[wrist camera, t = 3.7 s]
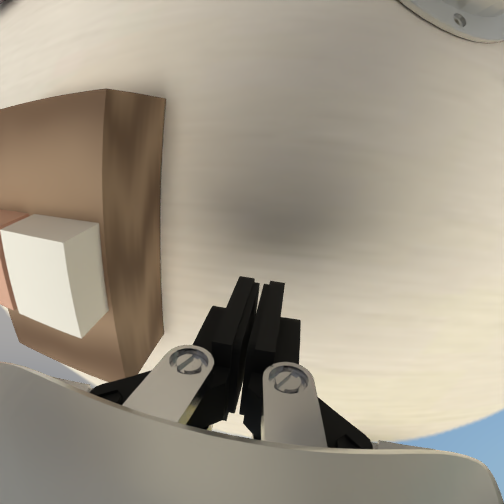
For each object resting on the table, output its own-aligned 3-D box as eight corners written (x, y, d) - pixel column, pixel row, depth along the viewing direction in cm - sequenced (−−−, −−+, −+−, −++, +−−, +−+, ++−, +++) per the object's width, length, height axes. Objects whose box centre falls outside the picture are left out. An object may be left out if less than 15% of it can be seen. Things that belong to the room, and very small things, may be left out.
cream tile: (34, 213, 13) (0, 229, 10) (99, 223, 12) (63, 242, 10) (46, 291, 14) (19, 313, 12) (108, 310, 14) (81, 338, 12)
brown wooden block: (46, 109, 17) (-17, 114, 11) (165, 98, 15) (106, 88, 10) (62, 304, 23) (19, 342, 17) (163, 333, 22) (128, 389, 16)
